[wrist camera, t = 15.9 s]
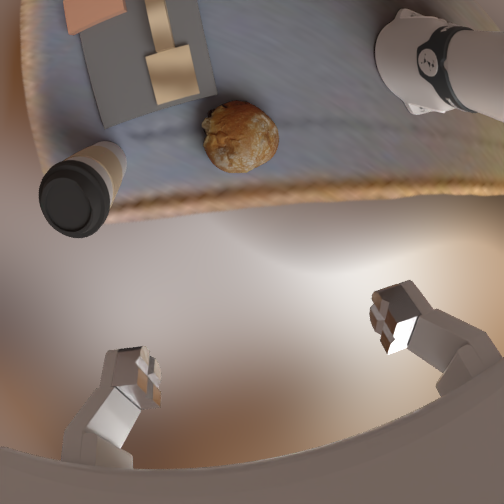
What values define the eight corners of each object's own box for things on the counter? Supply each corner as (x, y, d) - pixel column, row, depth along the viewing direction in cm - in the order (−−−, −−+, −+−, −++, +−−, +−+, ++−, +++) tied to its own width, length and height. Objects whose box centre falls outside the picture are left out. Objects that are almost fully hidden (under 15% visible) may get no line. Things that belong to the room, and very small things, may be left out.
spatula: (127, -36, 19) (122, -42, 17) (168, -49, 19) (166, -55, 17) (158, 104, 33) (155, 106, 31) (199, 93, 33) (199, 94, 31)
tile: (117, -25, 19) (63, 0, 19) (124, 9, 23) (68, 34, 23) (121, -22, 21) (67, 2, 21) (127, 11, 24) (73, 35, 24)
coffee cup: (94, 200, 40) (57, 256, 28) (69, 150, 34) (17, 191, 22) (143, 177, 39) (118, 230, 27) (119, 123, 34) (78, 152, 22)
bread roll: (220, 164, 44) (238, 198, 40) (182, 123, 35) (195, 156, 31) (273, 128, 42) (298, 158, 38) (243, 80, 33) (268, 106, 29)
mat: (186, -47, 21) (186, -49, 20) (217, 94, 34) (217, 94, 33) (75, -7, 20) (72, -9, 20) (106, 127, 34) (104, 129, 33)
